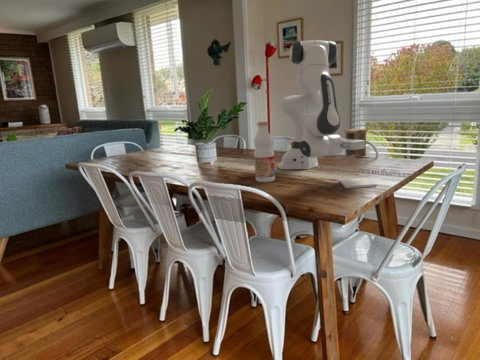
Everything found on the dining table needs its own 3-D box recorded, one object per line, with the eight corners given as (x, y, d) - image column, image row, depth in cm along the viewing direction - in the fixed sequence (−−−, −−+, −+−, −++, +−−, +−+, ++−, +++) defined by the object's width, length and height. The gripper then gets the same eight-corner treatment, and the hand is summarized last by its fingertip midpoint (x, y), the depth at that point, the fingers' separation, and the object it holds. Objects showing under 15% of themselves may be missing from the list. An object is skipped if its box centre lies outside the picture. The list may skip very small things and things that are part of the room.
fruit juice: (253, 179, 180) (250, 122, 174) (271, 177, 182) (269, 121, 176) (258, 183, 171) (255, 123, 165) (277, 181, 173) (275, 122, 167)
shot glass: (356, 155, 225) (356, 144, 223) (367, 155, 225) (367, 143, 223) (361, 157, 218) (361, 146, 216) (372, 156, 218) (372, 145, 217)
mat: (345, 188, 154) (345, 185, 154) (339, 181, 166) (339, 179, 166) (376, 186, 153) (376, 184, 153) (368, 179, 165) (368, 177, 165)
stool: (355, 157, 162) (355, 130, 159) (344, 156, 168) (344, 130, 166) (367, 155, 165) (367, 129, 162) (355, 154, 171) (355, 128, 169)
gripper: (350, 139, 150) (375, 135, 156) (318, 136, 168) (341, 133, 174) (350, 154, 151) (374, 150, 157) (318, 149, 169) (341, 146, 175)
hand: (357, 141), depth 166 cm, fingers closed on stool, 6 cm apart
